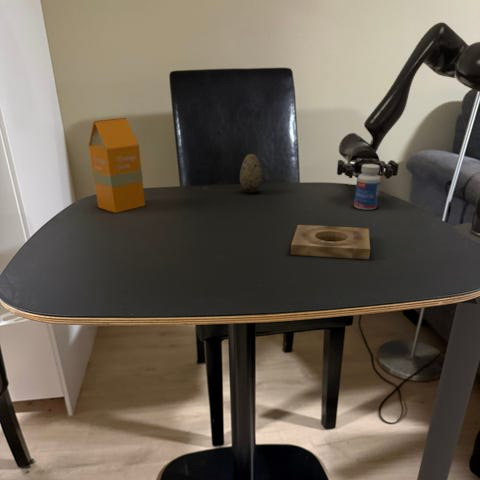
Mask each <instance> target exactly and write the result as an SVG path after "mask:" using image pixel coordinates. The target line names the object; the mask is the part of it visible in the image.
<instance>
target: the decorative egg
mask: <svg viewBox="0 0 480 480" xmlns="http://www.w3.org/2000/svg"><path fill="white" fill-rule="evenodd" d="M262 182H263V172H262V168H261V164H260V161H259V159H258V158H257V156H256V155H255V154H253V153H249V154H247V155H246V156H245V157H244V159H243V162H242V164H241V167H240V172H239V183H240V187H241V188H242V189H243V190H244V191H245V192H246V193H249V194H250V193H251V194H253V193H255V192H257V191H259V189H260V187H261V186H262Z"/></svg>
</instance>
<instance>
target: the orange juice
mask: <svg viewBox="0 0 480 480" xmlns="http://www.w3.org/2000/svg"><path fill="white" fill-rule="evenodd" d="M91 128H92V129H91V134H90V137H89V142H88V150H89V157H90V163H91V169H92V177H93V183H94V189H95V194H96V195H95V196H96V200H97V202H96V203H97V208H99V209H102V210H104V211H105V210H106V211H108V212H111V213H116V214H117V213H120V212H124V211H128V210H133V209H137V208H141V207H144V206H146V201H145V199H146V198H145V192H144V191H145V190H144V179H143V171H142V163H141V162H142V161H141V154H140V153H141V152H140V145H139V143H138V141H137V139H136V136H135V135H134V132H133V130H132V128H131V126H130V124H129V121H128V120H127V117H119V118H111V119H101V120H93V124H92V127H91Z"/></svg>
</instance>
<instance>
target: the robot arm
mask: <svg viewBox="0 0 480 480" xmlns="http://www.w3.org/2000/svg"><path fill="white" fill-rule="evenodd" d="M422 65H426V66H427V68H428V69H430V70H431V71H433V72H434V73H435V74H437V75H439V76H442V77H447V78H452V79H456V81H457V82H458V83H460V84H461V85H463V86H465V87H467V88H469V89H471V90H473V91H476V92H478V93H480V41H476V42H474V43H471V44H470V45H469V44H468V43H467V42H466V41H465V40H464V39H463V38H462V37H461V36H460V35H459V34H458V33H457V32H456V31H454V30H453V29H452V28H451V27H450V26H449V25H448V24H447V23H446V22H442V21H441V22H438V23H435V24H434V25H433V26H431V27H430V28H429V29H428V30H427V31H426V32H425V33H424V35H423V36H422V37H421V38H420V40H419V41H418V43H417V44H416V45H415V47H414V49H413V51H412V52H411V54H409V57H408V59H407V60H406V61H405V63H404V65H403V66H402V68H401V70H400V71H399V73H398V75H397V76H396V78H395V80H394V81H393V83H392V84H391V86H390V87H389V89H388V91H387V92H386V93H385V95H384V96H383V98H382V99H381V101H380V102H379V103H378V104H377V106H376V107H375V108H374V109H373V111H372V112H371V113H370V114H369V116H368V117H367V118H366V119H365V121H364V122H363V127H364V128H365V130H366V132H368V134H369V135H370V137H371V141H370V143H369V142H368V141H366V140H365V139H364V138H363V137H362V136H360V135H359V134H358V133H356V132H350V133H348V134H346V135H345V136H344V137H342V139H341V140H340V142H339V145H338V153H339V155H340V156H341V158H343V159H344V160H342V159H338V160H337V165H336V166H337V167H336V175H338V176H342V175H343V174H344V176H346V177H348V179H353V177H354V178H356V179H357V177H358V176H359V175H360V174H362V172H361V169H362V165H364V164H375V165H379V166H380V168H379V173H378V175H379V176H380V177H383V176H384V177H385V179H389V180H390V179H391V178H392V177H396V176H398V172H399V166H400V165H399V163H397V162H396V161H395V160H393V159H390V160H388V162H387V163H386V161H384V160H381V159H380V157H379V155H378V154H377V151H378V150H379V147H380V145H381V143H382V142H383V140H384V138H385V137H386V135H387V134H388V133H389V132H390V131H391V129H392V128H393V127H394V126H395V125H396V123H397V122H398V121H399V120H400V119H401V117H402V115H403V114H404V112H405V110H406V108H407V107H406V106H407V104H408V99H409V95H410V90H411V88H412V84H413V81H414V78H415V77H416V75H417V73H418V71H419V70H420V68H421V66H422ZM345 161H347V162H345ZM471 223H472V225H471V227H470V233H471V234H473V235H475V236H477V237H480V189H478V194H477V199H476V204H475V207H474V211H473V214H472V220H471Z"/></svg>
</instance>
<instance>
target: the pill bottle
mask: <svg viewBox="0 0 480 480" xmlns="http://www.w3.org/2000/svg"><path fill="white" fill-rule="evenodd" d="M379 168H380V166H379V165H375V164H364V165H362V169H361V172H362V174H360V175H359V176H358V177H357V178H356V186H355V194H354V201H353V206H354V207H355V209H358V210H363V211H371V210H375V209H376V208H377V207H378V203H379V195H380V189H381V181H382V178H381V177H382V176H379V175H378V173H379Z"/></svg>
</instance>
